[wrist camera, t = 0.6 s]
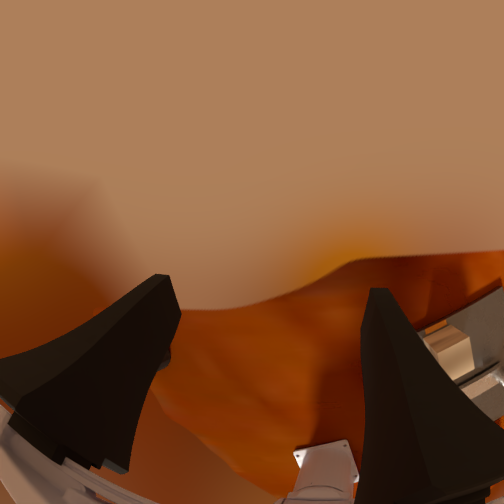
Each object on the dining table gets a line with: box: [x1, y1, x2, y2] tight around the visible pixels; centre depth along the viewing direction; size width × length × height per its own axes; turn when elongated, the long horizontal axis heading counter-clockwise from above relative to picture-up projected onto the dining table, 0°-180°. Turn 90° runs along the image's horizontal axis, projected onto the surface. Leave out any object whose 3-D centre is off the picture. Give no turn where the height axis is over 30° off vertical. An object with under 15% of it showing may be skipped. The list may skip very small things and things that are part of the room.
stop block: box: [423, 325, 475, 380], centre depth 24 cm, size 4×4×6 cm
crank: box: [459, 362, 504, 399], centre depth 21 cm, size 12×4×7 cm, turn 112°
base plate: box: [416, 286, 504, 421], centre depth 26 cm, size 20×20×1 cm
